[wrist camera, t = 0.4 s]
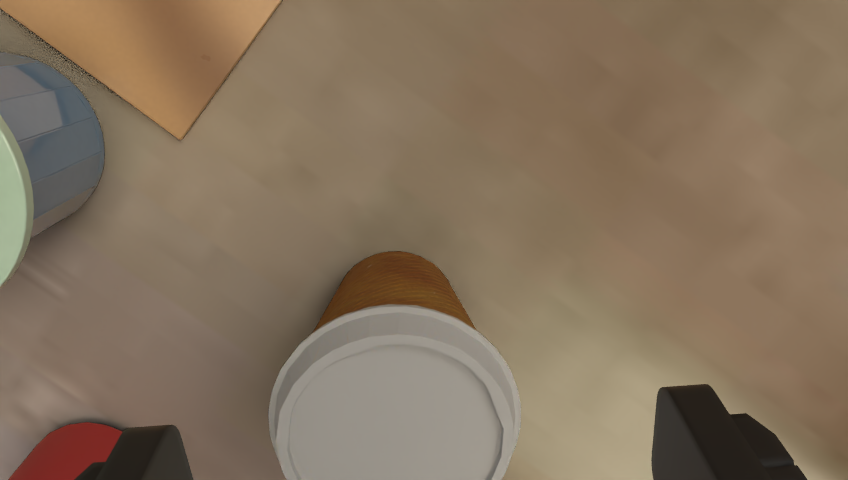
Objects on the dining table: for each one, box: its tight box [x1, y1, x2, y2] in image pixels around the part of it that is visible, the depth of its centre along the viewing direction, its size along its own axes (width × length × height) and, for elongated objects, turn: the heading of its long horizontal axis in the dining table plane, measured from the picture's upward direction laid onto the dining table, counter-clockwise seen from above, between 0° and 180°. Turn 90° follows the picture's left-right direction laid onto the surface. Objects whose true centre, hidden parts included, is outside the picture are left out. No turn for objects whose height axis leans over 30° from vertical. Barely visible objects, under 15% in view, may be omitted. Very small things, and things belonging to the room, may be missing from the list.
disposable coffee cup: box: [268, 251, 521, 480], centre depth 30 cm, size 10×10×12 cm
